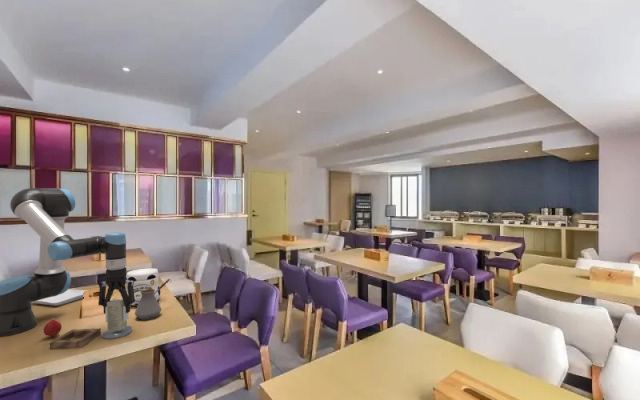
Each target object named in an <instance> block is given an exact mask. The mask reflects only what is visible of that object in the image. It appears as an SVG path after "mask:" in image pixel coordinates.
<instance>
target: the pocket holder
mask: <svg viewBox="0 0 640 400" xmlns="http://www.w3.org/2000/svg"><path fill="white" fill-rule="evenodd" d="M101 333H102V330H101V328H80V329H76V328H74V329H71V330H69V331H67V332H65V333H64V334H62V335H61V336H58V337H56V338H55V339H54V340H52V341H50V342H49V343H48V345H49V350H56V349H57V350H59V349H60V350H62V349H64V350H65V349H79V348H80V349H82V348H83V347H85V346H86V345H88V344H89V343H91V342H92V341H93V340H95V339H96V338H98V337H99V336H100V335H102V334H101ZM73 338H77V339H73ZM78 338H80V339H78Z"/></svg>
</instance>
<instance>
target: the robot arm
mask: <svg viewBox="0 0 640 400" xmlns="http://www.w3.org/2000/svg"><path fill="white" fill-rule="evenodd" d="M9 206H10V207H9V208H10V210H11V212H12V214H14V215H15V216H16V217H17V218H18V219H21V220H24V221H25V223H26V224H27V225H28V226H29V227H30V228H31V229H32V230H33V231H34V232H35V233H36V234H37V235H38V236H39V237H40V238H39V239H40V240H39V256H38V257H39V259H38V268H36V269H35V270H34V274H33V276H31V275H29V274H22V275H21V274H20V275H15V276H11V277H8V278H4V279H2V280H0V337H6V336H5V335H7V336H12V335H17V334H20V333H23V332H26V331H29V330H31V329H33V328H35V327H36V326H38V319H37V317H36V316H35V314H34V311H33V310H32V303H33V301H37V300H41V299H45V298H49V297H54V296H57V295H59V294H63V293H64V292H66V291H67V290H68V289H70V286H71V282H72V277H71V274H70V273H69V272H68V270H66V268H65V267H64V266H63V261H66V260H70V259H75V258H81V257H86V256H87V257H88V256H93V255H97V254H99V255H100V254H103V255H105V269H106V270H105V278H106V280H105V281H101V282H98V287H99V291H98V292H99V293H98V306H103V314H105V323H107V302H109V301H111V300H112V297H113V294H114V292H115V291H114V290H118V292H119V293H120V296H121V299H123V301H124V304H125V305H124V306H123V321H126V320H127V321H128V320H129V318H130V317H129V313H130V312H131V306H130V304H132V303H134V302H135V297H134V289H133V284H134V281H133V280H132V281H129V280H127V278H126V276H127V273H128V272H127V239H126V233H125V232H122V231H120V232H119V231H118V232H115V231H114V232H108V233H105V234H104V236H102V235H96V236H94V235H93V236H90V237H86V238H77V239H74V238H73V237H72V236H71V235H70V234H68V232H67V231H66V230H65V221H66V219H67V218H68V217H69V216H70V215H69V214H70V213H71V212H73V211H74V210H75V208H76V199H75V196H74V195H73V193H72V191H70V190H69V189H66V188H59V187H58V188H57V187H54V188H51V187H50V188H48V187H47V188H45V187H42V188H41V187H39V188H38V187H37V188H35V187H31V188H30V187H29V188H25V189H24V188H23V189H21V190H19V191H18V192H17V193H16V192H15V194H14V195H13V196H12V197H11V199H10V203H9ZM127 289H128V294H127V291H126V290H127Z"/></svg>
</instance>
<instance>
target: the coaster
mask: <svg viewBox="0 0 640 400" xmlns="http://www.w3.org/2000/svg"><path fill="white" fill-rule="evenodd" d="M132 332H133V327H132V326H130V325H127V327H125V328H123V329H122V330H108V329H106V330H105V331H103V332H102V334H101V336H102V339H104V340H115V339H120V338H124V337H126V336H128V335H130V334H131V333H132Z"/></svg>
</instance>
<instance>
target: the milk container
mask: <svg viewBox="0 0 640 400" xmlns="http://www.w3.org/2000/svg"><path fill="white" fill-rule="evenodd" d="M126 273H127V275H126V278H127V280H129V281H132V280H133V281H134V284H133V289H134V297H135V302H134V303H132V304H130V307H138V304H139V302H140V300H141V297H142V294H141V293H140V292H141V291H143V290H148V289H154V290H155V291H156V290H158V288H159V287H160V285H159V270H158V268H154V267H146V268H140V269H139V268H138V269H133V270H130V271H128V272H126ZM126 291H127V294H128V289H127V288H126ZM154 296H155V298H156V300H157V301H159V299H160V297H161V289H160V290H159V291H158V292H157V293H156V294H155V295H154Z"/></svg>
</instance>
